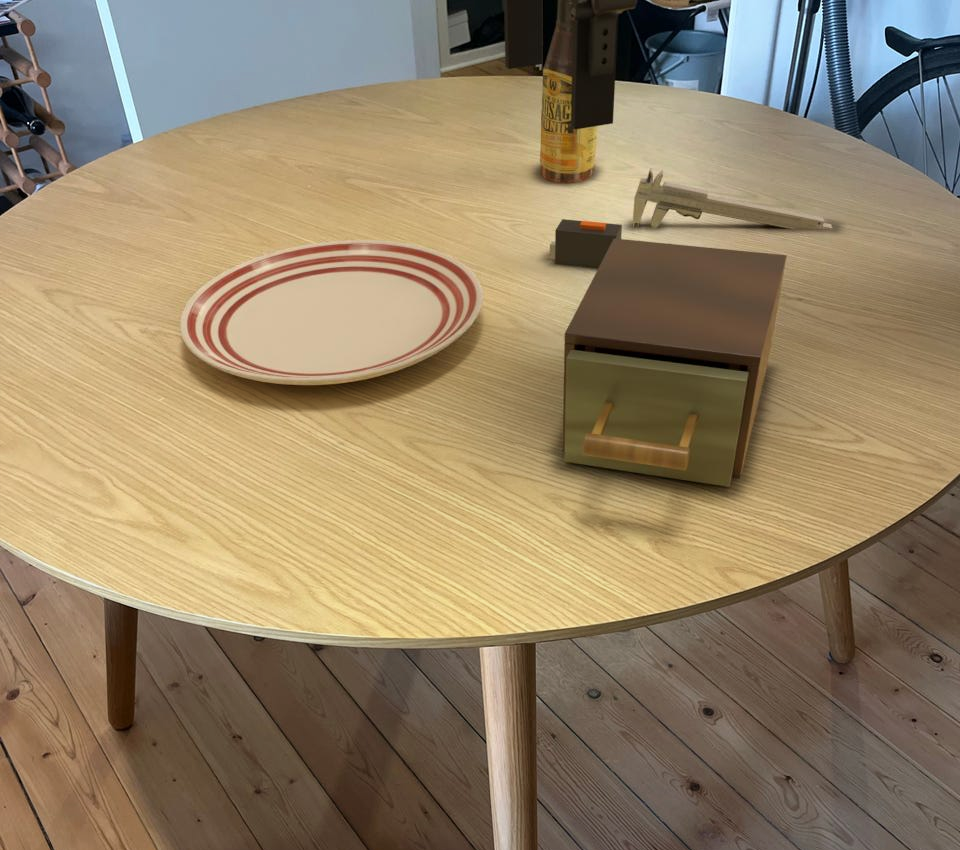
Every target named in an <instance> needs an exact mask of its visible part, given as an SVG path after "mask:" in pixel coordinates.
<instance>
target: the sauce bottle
mask: <svg viewBox="0 0 960 850" xmlns="http://www.w3.org/2000/svg"><path fill="white" fill-rule="evenodd" d="M575 3H579V2H578V0H557V8H556V9H557V11H556V12H557V13H556V21H555V28H554V31H553V35H552V38H551V42H550V46H549V48H548V53H547V55H546V58H545V63H544V65H543V68H542V92H541V93H542V94H541V116H540V122H541V123H540V152H539V163H540V175H541V176H542V177H543V178H544V179H545V180H547V181H549V182H552V183H560V184H572V183H579V182H584V181H587V180H588V179H589V178H591V177H592V175H593V174H594V166H595V164H596V151H597V139H598V126H594V127H588V128H582V129H576V130H575V129H574V128H573V127H572V126H571V94H572V47H573V20H571V18H570V15H569V14H570V13H571V10H572V8H573V6H575Z"/></svg>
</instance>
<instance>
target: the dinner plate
mask: <svg viewBox="0 0 960 850" xmlns="http://www.w3.org/2000/svg"><path fill="white" fill-rule="evenodd" d="M483 291H484V290H483V287H482V284H481V282H480V280H479V278H478V276H477V275H476V274H475V272H473V270H471V269H470V267H468V266H467V265H466V264H465V263H463V262H462V261H460V260H458V259H456V258H455V257H452V256H451V255H448V254H446V253H443V252H442V251H439V250H435V249H432V248H428V247H425V246H422V245H417V244H412V243H407V242H400V241H392V240H383V239H382V240H381V239H347V240H345V239H344V240H331V241H321V242H316V243H315V242H314V243H307V244H302V245H297V246H292V247H288V248H284V249H280V250H277V251H273V252H269V253H267V254H263V255H261V256H257V257H254V258H252V259H250V260H246V261H244V262H241V263H239V264H236V265H235V266H233V267H231V268H229V269H227V270H224V271H223V272H221V273H219V274H218V275H216V276H214V277H213V278H211V279H210V280H208V281H207V282H206V283H205V284H203V285H202V286H200V288H199V289H198V290H196V291H195V292H194V293H193V294H192V296H191V297H190V298H189V299H188V301H187V302H186V304H185V305H184V307H183V309H182V312H181V316H180V318H179V331H180V332H179V333H180V335H181V338H182V341H183V342H184V344H185V346H186V347H187V349H188V350H189V351H190V352H191V353H192V354H193V355H194V356H195V357H196V358H198V359H199V360H201V361H202V362H204V363H206V364H207V365H208V366H210V367H213V368H215V369H217V370H220V371H222V372H224V373H226V374H229V375H233V376H236V377H239V378H242V379H243V378H244V379H248V380H251V381H257V382H263V383H269V384H277V385H278V384H279V385H288V386H289V385H291V386H292V385H293V386H325V385H326V386H327V385H338V384H345V383H353V382H359V381H365V380H368V379H374V378H378V377H381V376H384V375H388V374H391V373H395V372H397V371H401V370H404V369H405V368H409V367H411V366H414V365H416V364H418V363H420V362H422V361H425V360H427V359H428V358H430V357H433V356H434V355H436V354H438V353H439V352H441V351H442V350H444V349H445V348H447V347H448V346H450V345H451V344H453V343H454V342H456V340H458V339H459V338H460V337H461V336H463V335H464V334H465V333H466V332H467V330H468V329H469V328H470V327H471V326H472V325H473V324H474V322H475V321H476V319H478V316H479V314H480V311H481V309H482V306H483V301H484V292H483Z"/></svg>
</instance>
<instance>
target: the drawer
mask: <svg viewBox="0 0 960 850" xmlns="http://www.w3.org/2000/svg"><path fill="white" fill-rule="evenodd" d="M746 371H747V366H745V365H737V364H729V363H721V362H713V361H705V360H697V359H689V358H681V357H673V356H665V355H657V354H649V353H641V352H633V351H625V350H617V349H609V348H601V347H593V346H585V351H578V350H570V352H569V354H568V356H567V358H566V408H565V452H564V462H566V463H571V464H577V465H584V466H589V467H590V466H591V467H598V468H605V469H611V470H617V471H623V472H628V473H629V472H630V473H637V474H643V475H649V476H656V477H662V478H669V479H675V480H682V481H687V482H693V483H695V482H696V483H700V484H707V485H715V486H719V487H726V488H729V487H730V486H731V482H732V478H733V477H732V472H733V466H734V460H735V454H736V448H737V442H738V435H739V429H740V423H741V417H742V411H743V405H744V399H745V393H746V387H747V381H748V375H749V372H746Z"/></svg>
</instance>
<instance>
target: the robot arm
mask: <svg viewBox="0 0 960 850" xmlns="http://www.w3.org/2000/svg"><path fill="white" fill-rule="evenodd" d="M578 2H579V3H575V6H573V8H572V10H571V13H570V14H569V15H570V18H571V20H573V47H572V94H571V126H572V127H573V128H574V129H575V130H576V129H582V128H588V127H594V126H597V127H600V126H605V125H607V126H608V125H612V124H614V111H615V90H616V73H617V72H616V70H617V69H616V68H617V49H618V32H619V31H618V29H619V15H620V14H622V13H623V12H624V11H626V10H634V9H635V8H636V7H637V4H638V0H578ZM503 9H504V10H503V13H504V17H503V18H504V55H505V56H504V61H505V68H507V69H508V70H512V69H513V70H514V69H519V68H526V67H534V66H539V65H543V63H544V62H543V60H544V59H543V58H544V56H543V54H544V49H543V48H544V47H543V45H544V42H543V41H544V40H543V39H544V35H543V34H544V31H543V29H544V23H543V22H544V21H543V20H544V1H543V0H503Z"/></svg>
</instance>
